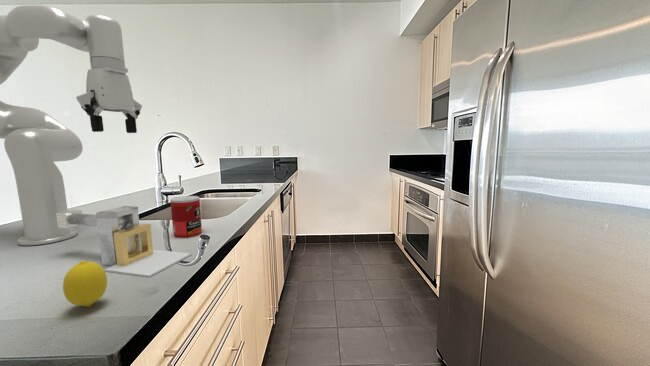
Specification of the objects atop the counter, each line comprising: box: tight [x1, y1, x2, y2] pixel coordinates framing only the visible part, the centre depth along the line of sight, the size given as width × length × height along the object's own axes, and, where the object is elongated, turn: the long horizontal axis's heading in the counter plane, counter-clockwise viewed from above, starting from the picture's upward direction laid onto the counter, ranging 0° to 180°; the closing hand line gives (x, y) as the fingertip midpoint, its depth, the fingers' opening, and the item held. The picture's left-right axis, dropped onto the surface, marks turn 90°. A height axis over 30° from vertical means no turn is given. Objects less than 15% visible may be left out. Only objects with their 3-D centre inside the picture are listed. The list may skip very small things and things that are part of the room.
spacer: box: [114, 223, 154, 266], centre depth 66 cm, size 2×7×7 cm, turn 163°
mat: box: [103, 249, 192, 278], centre depth 65 cm, size 12×12×1 cm
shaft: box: [56, 209, 128, 229], centre depth 68 cm, size 18×4×4 cm, turn 75°
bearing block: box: [95, 205, 142, 267], centre depth 66 cm, size 4×7×12 cm, turn 165°
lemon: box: [62, 259, 108, 308], centre depth 47 cm, size 6×6×8 cm
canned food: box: [170, 195, 203, 239], centre depth 85 cm, size 8×8×11 cm
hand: (115, 132), depth 79 cm, fingers open, 9 cm apart
